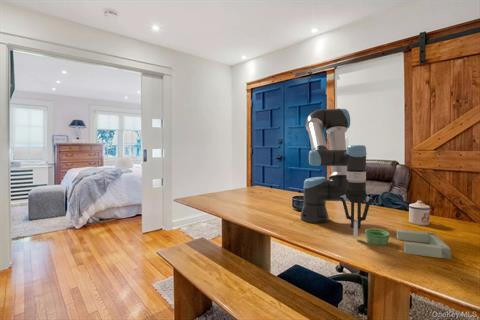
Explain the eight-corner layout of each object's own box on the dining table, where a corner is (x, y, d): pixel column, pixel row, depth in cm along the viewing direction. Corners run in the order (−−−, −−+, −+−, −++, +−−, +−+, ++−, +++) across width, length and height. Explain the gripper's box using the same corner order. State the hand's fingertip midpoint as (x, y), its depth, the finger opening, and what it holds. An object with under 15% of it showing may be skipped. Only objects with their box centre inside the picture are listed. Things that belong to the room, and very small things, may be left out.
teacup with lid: (425, 226, 124) (425, 203, 123) (405, 222, 131) (405, 200, 131) (435, 222, 130) (436, 200, 130) (415, 218, 138) (416, 197, 137)
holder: (405, 253, 93) (405, 244, 93) (396, 237, 110) (396, 229, 110) (450, 259, 88) (451, 249, 88) (433, 241, 105) (434, 233, 105)
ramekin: (389, 248, 99) (389, 237, 99) (364, 243, 104) (364, 233, 103) (389, 240, 106) (389, 230, 106) (366, 237, 111) (366, 227, 111)
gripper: (339, 181, 106) (339, 236, 107) (374, 183, 101) (373, 240, 102) (339, 179, 113) (339, 231, 114) (372, 180, 108) (371, 234, 109)
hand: (355, 235), depth 108 cm, fingers closed
